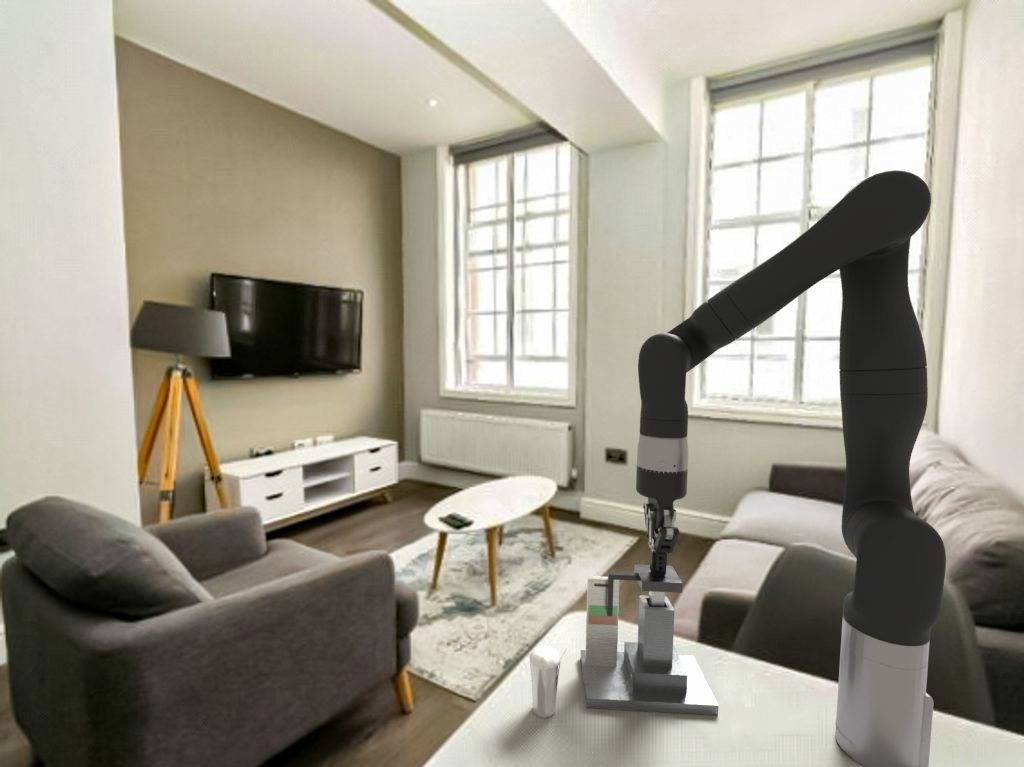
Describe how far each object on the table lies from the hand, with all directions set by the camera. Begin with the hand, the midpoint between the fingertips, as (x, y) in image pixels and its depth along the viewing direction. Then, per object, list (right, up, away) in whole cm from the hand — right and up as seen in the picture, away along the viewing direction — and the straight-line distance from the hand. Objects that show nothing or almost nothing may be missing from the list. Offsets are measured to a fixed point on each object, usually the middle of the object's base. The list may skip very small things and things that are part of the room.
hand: (657, 573), depth 79 cm
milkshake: (-18, -19, -5) cm, 26 cm away
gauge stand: (-2, -18, +1) cm, 18 cm away
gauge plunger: (-2, -11, +1) cm, 12 cm away
